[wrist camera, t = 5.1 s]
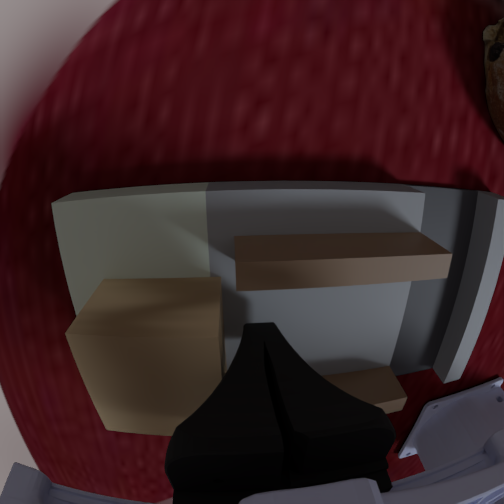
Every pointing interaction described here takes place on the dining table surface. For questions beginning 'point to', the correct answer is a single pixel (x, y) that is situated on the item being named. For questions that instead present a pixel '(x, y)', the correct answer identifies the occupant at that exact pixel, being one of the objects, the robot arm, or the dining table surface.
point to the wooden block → (150, 350)
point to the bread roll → (495, 73)
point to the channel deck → (309, 266)
